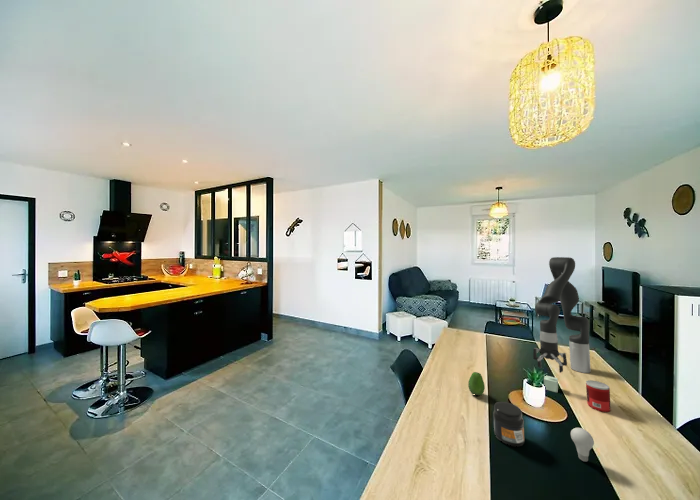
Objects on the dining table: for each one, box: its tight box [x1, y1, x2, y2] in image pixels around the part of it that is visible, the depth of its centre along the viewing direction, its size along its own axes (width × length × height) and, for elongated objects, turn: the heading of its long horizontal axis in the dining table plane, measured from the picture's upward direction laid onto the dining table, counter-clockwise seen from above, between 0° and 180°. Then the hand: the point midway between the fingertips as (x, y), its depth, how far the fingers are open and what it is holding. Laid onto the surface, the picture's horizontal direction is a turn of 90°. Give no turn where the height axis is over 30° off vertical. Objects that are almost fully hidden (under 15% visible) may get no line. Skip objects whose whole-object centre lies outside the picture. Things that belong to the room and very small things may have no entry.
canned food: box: [585, 379, 612, 413], centre depth 118 cm, size 8×8×11 cm
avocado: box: [467, 371, 485, 396], centre depth 132 cm, size 8×8×12 cm
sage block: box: [543, 375, 559, 394], centre depth 135 cm, size 6×6×6 cm
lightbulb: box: [570, 427, 595, 462], centre depth 89 cm, size 6×6×11 cm
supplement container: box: [492, 401, 526, 447], centre depth 101 cm, size 10×10×12 cm
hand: (550, 369), depth 135 cm, fingers open, 8 cm apart
